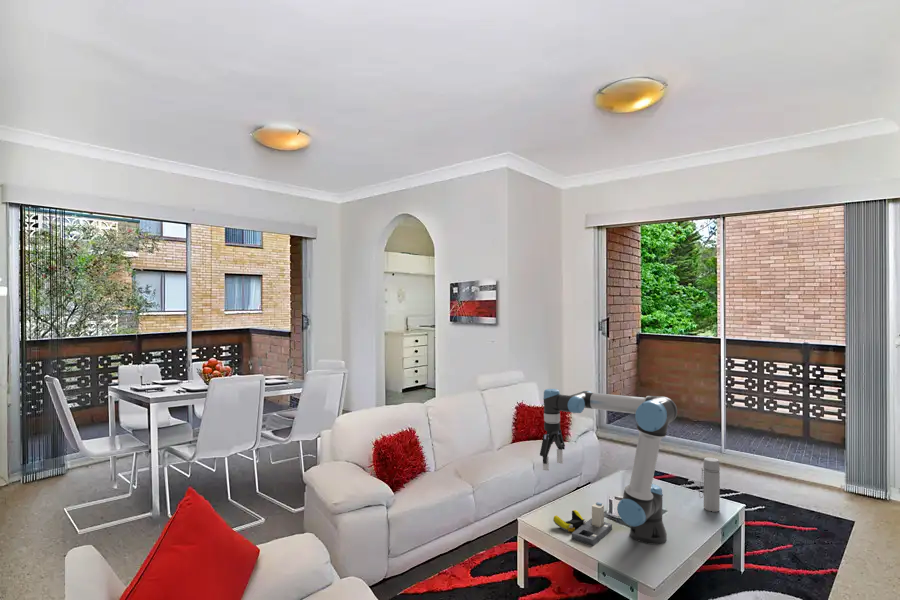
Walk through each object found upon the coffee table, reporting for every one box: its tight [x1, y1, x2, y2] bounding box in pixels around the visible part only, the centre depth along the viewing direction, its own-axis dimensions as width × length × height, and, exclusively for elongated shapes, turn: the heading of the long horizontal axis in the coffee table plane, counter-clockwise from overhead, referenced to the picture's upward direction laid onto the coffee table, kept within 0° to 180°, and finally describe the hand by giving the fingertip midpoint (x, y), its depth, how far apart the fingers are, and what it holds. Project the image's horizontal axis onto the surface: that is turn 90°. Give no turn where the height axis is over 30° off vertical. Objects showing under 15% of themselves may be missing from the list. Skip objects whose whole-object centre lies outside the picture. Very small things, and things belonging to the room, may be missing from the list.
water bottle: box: [698, 457, 721, 513], centre depth 261 cm, size 9×8×25 cm
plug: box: [591, 502, 605, 527], centre depth 239 cm, size 4×4×12 cm
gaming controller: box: [552, 509, 587, 533], centre depth 242 cm, size 15×6×10 cm
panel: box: [571, 517, 613, 547], centre depth 235 cm, size 10×20×3 cm, turn 140°
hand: (553, 466), depth 250 cm, fingers open, 13 cm apart
